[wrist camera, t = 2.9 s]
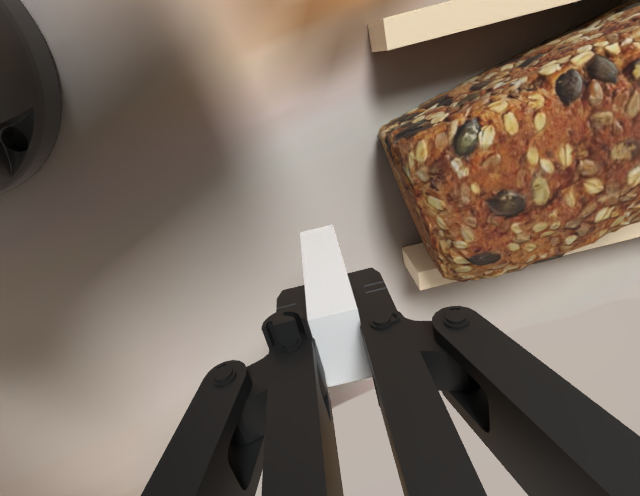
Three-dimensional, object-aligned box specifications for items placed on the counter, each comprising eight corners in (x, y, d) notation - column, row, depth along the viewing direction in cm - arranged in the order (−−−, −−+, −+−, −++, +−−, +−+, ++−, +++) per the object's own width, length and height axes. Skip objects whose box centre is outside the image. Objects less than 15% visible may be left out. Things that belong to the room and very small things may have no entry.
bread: (640, -18, 24) (857, -66, 15) (650, 140, 28) (820, 177, 19) (364, 120, 26) (406, 151, 17) (414, 246, 30) (469, 324, 22)
